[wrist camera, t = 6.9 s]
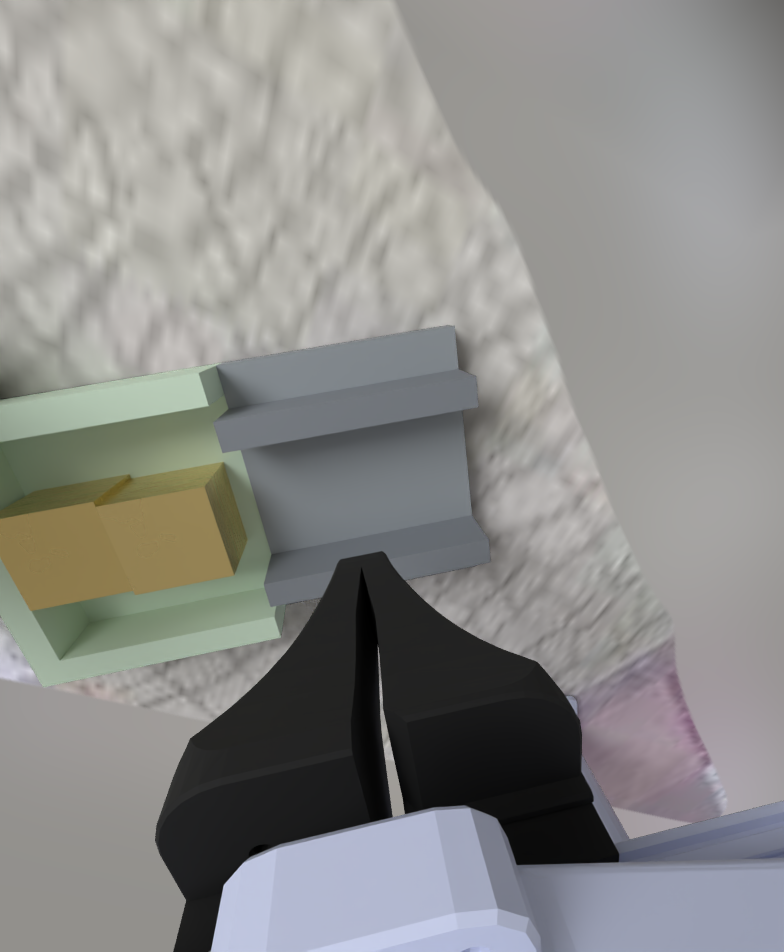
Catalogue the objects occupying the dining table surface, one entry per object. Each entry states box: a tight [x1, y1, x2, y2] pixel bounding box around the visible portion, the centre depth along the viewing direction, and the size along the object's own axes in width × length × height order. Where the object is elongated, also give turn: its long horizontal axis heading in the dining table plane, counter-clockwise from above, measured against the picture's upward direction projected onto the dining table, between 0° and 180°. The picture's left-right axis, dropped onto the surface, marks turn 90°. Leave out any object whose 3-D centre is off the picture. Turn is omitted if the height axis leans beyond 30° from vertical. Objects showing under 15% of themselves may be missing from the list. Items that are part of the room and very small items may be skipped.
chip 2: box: [96, 462, 248, 595], centre depth 18 cm, size 4×4×3 cm
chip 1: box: [0, 474, 133, 611], centre depth 18 cm, size 4×4×3 cm
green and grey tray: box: [0, 325, 491, 687], centre depth 19 cm, size 12×20×4 cm, turn 99°
